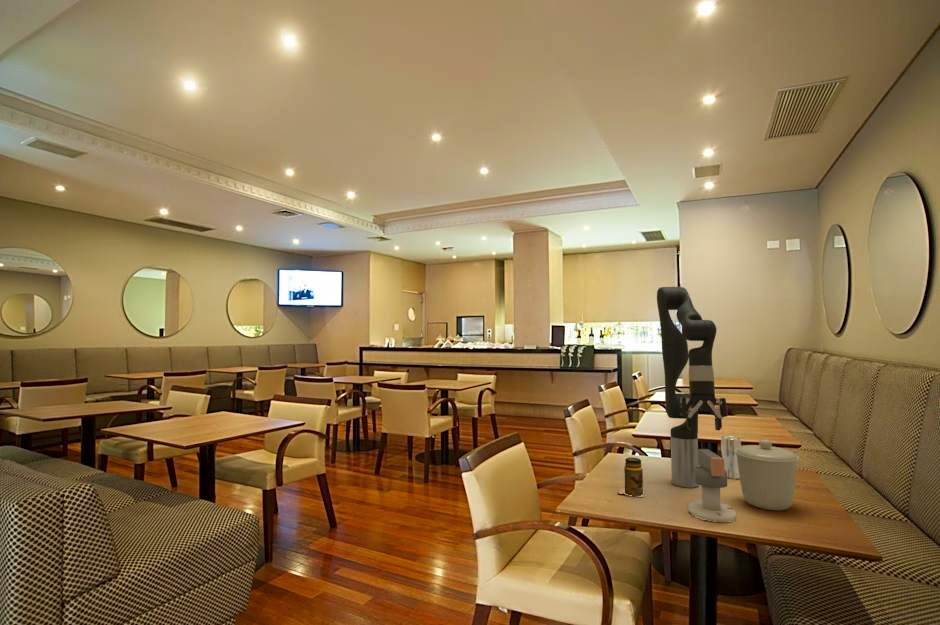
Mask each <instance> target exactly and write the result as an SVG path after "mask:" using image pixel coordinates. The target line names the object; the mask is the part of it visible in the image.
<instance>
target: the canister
mask: <svg viewBox="0 0 940 625" xmlns="http://www.w3.org/2000/svg"><path fill="white" fill-rule="evenodd" d="M734 453H735V454H736V455H737V462H738V469H739V476H740V479H739V482H740V487H741V493H742V496H743V498H744V500H745V502H747V504H749V505H751V506H753V507H756V508H759V509H762V510H766V511H767V510H768V511H786V510H788V509H790V508H791V507H792V505H793V502H794V496H795V487H796V479H797V476H796V475H797V468H798V466H797V465H798V462H799V461H800V459H801V458H800V456H799V455H797V454H795V453H794V452H793V451H791V450H789V449H785V448H781V447H776V446H773V442H772V441H770V440H769V439H766V438H765V439H760V440H759V442H758V444H747V445H741V447H739V448H738V449H735V450H734Z"/></svg>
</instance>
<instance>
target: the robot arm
mask: <svg viewBox="0 0 940 625" xmlns="http://www.w3.org/2000/svg"><path fill="white" fill-rule="evenodd" d="M656 305H657V310H658V316H659V323H660V324H659V325H660V337H661V349H662V350H661V352H662V353H661V354H662V361H663V370H664V371H663V372H664V394H665V395H664V398H665V399H664V403H665V412H666V415H667V417H668V418H670V419H681V420H682V419H684V420H685V421H684V422H683V423H681V424H679V425H676V426H673V427H672V428H671V429H670V462H671V467H670V468H671V473H670V474H671V484H673V485H675V486H678V487H681V488H689V489H691V488H697V487H699V486H700V485H699V484H697V483H695V470H694V468H695V467H698V466H699V465H698V449H699V444H698V443H699V439H698V438H699V436H698V434H699V432H698V431H699V412H703V411H704V412H710V414H712V415H713V416H714V429H715V430H716V431H721V429H722V428H723V423H722V420H723V418H725V417H728V409H727V408H728V406H727V400H726V398H725V397H719V398H717V397H716V392H715V391H716V390H715V374H714V369H713V348H714V342H715V339H716V336H717V326H716V324H715V322H713V320H710V319H703V318H702V315H701V314H700V313H699V312H698V311H697V310H696V308H695V306H694V304H693V302H692V299H691V297H690V293H689V292H688V290H687V289H686V288H685V287H683V286H662V287H659V288H658V289H657V291H656ZM670 311H676V314H675V315H676V319H677V321H678V322H679V324H680V325H681V331H680V329H679V328H678V327H677V326H676V324H675V323H674V321H673V319H672V316H671V314H670ZM688 341H690V342H702V344H701V346H699V347H694V348H690V349H689V346H688ZM687 364H688V383H689V384H688V386H689V387H688V388H689V389H688V390H689V393H681V392H680V393H679V392H678V393H677V392H676V386H677V383H678V380H679V378H680V376H681V374H682V373H683V371H684V369H685V367H686V365H687ZM716 403H717V405H719V410H718V409H717V407H716V406H715V405H716Z"/></svg>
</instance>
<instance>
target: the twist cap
mask: <svg viewBox="0 0 940 625" xmlns="http://www.w3.org/2000/svg"><path fill="white" fill-rule="evenodd" d="M698 465H699V466H698V467H695V468H694V470H695V483H697V484H699V486H701V487H702V486H705V487H711V488H720V489H723V488H726V487H728V478H727V471H726V470H724V459H723V458H722V456H720V455H718V454H716V453H715V452H713V451H711V449H708V448H698Z"/></svg>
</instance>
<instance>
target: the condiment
mask: <svg viewBox="0 0 940 625" xmlns="http://www.w3.org/2000/svg"><path fill="white" fill-rule="evenodd" d="M624 461H625V463H624V468H623V469H624V472H623V473H624V488H625V493H626V494H628V495H632V496H641V495H643V491H644V478H643V477H644V476H643V471H644V470H643V467H642V460H641V459H640V458H638V457H626V458H625V460H624ZM644 493H645V494H646V491H645V492H644Z"/></svg>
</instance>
